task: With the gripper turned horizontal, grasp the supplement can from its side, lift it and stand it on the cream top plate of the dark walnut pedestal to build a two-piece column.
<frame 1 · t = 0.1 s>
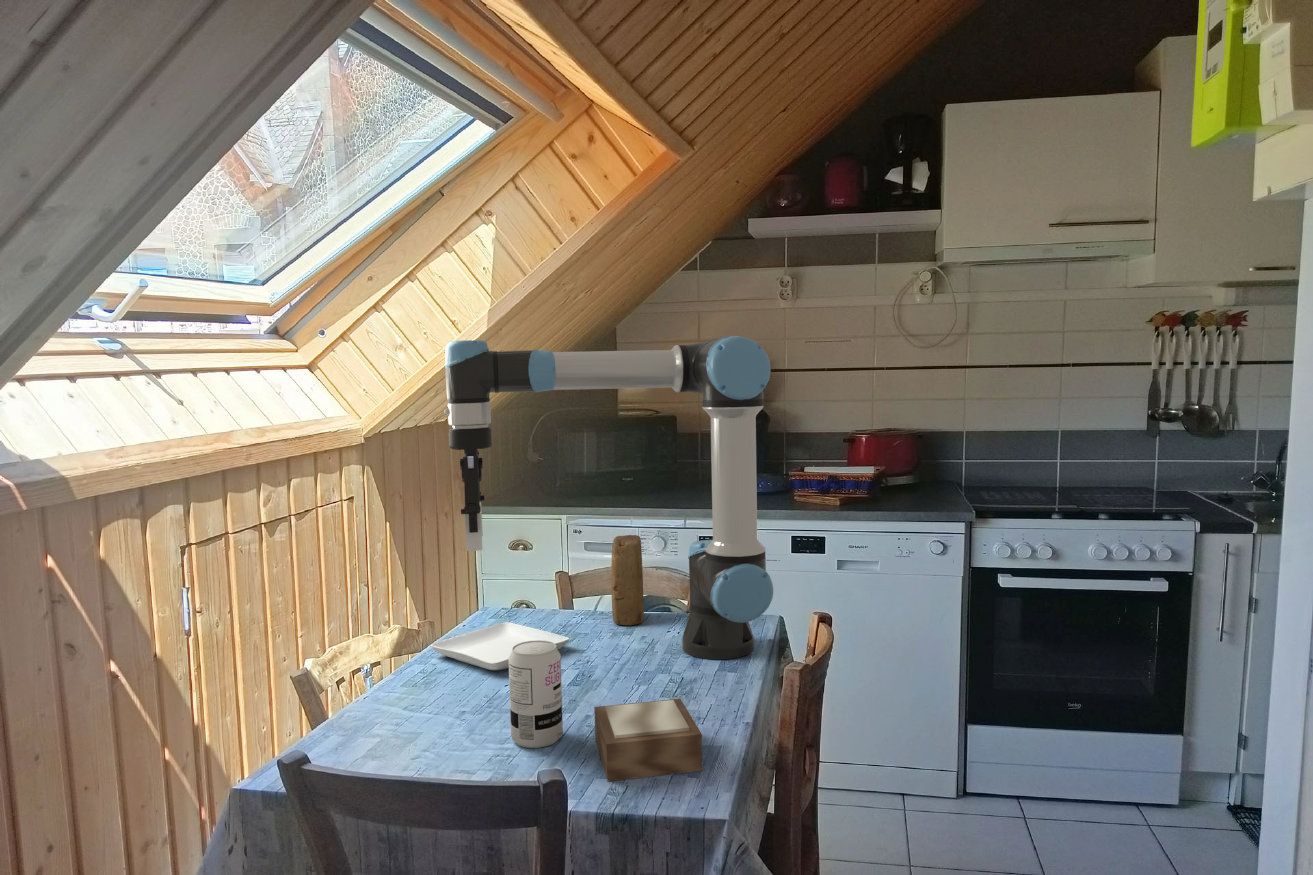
hand: (475, 543, 155), 28 cm above the table, tool pointing down, fingers open, 13 cm apart
walnut pedestal: (646, 754, 130), on the table
supplement can: (537, 739, 137), on the table
block: (628, 621, 201), on the table
salad plate: (501, 656, 179), on the table
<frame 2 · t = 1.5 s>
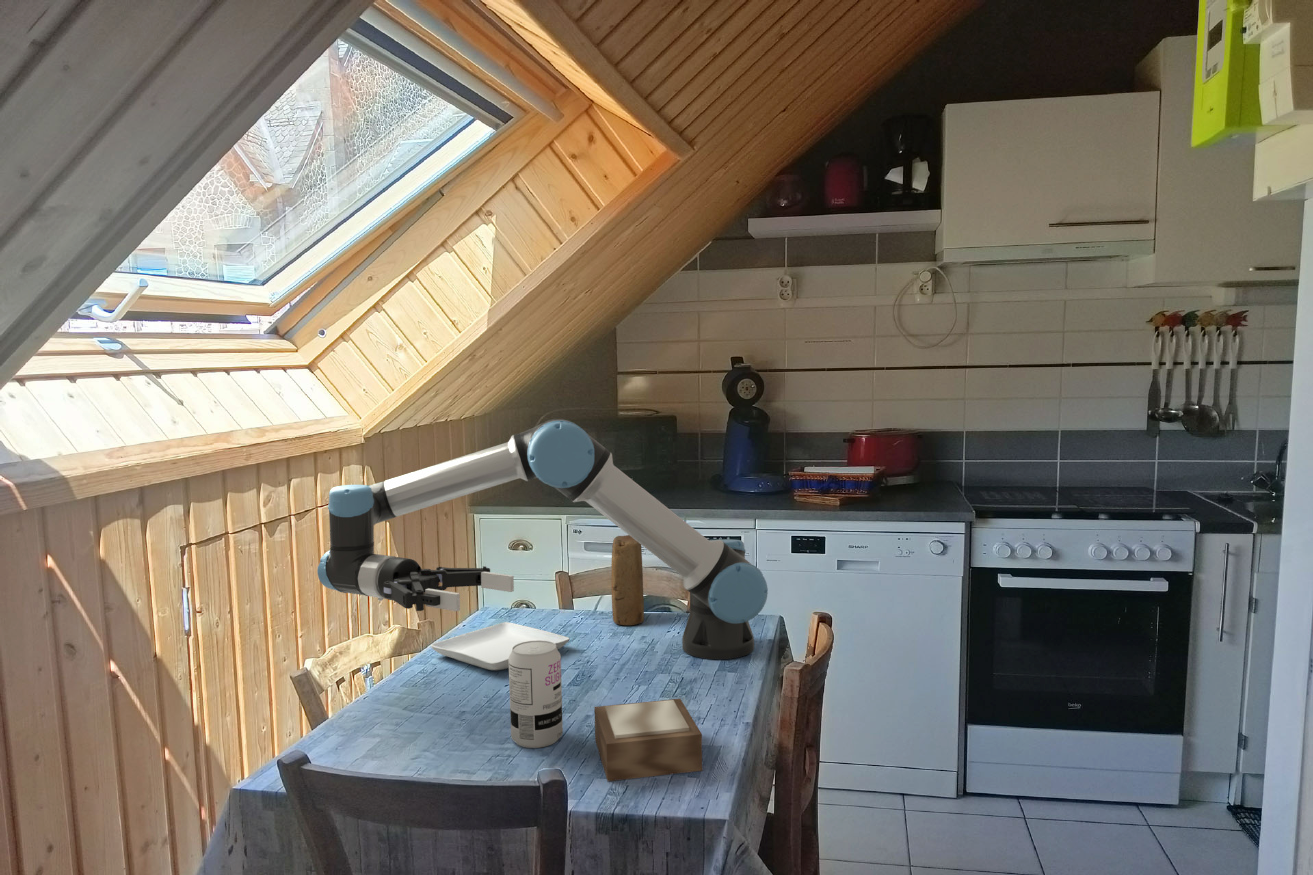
hand: (486, 592, 140), 23 cm above the table, tool horizontal, fingers open, 13 cm apart
nothing on the table moved.
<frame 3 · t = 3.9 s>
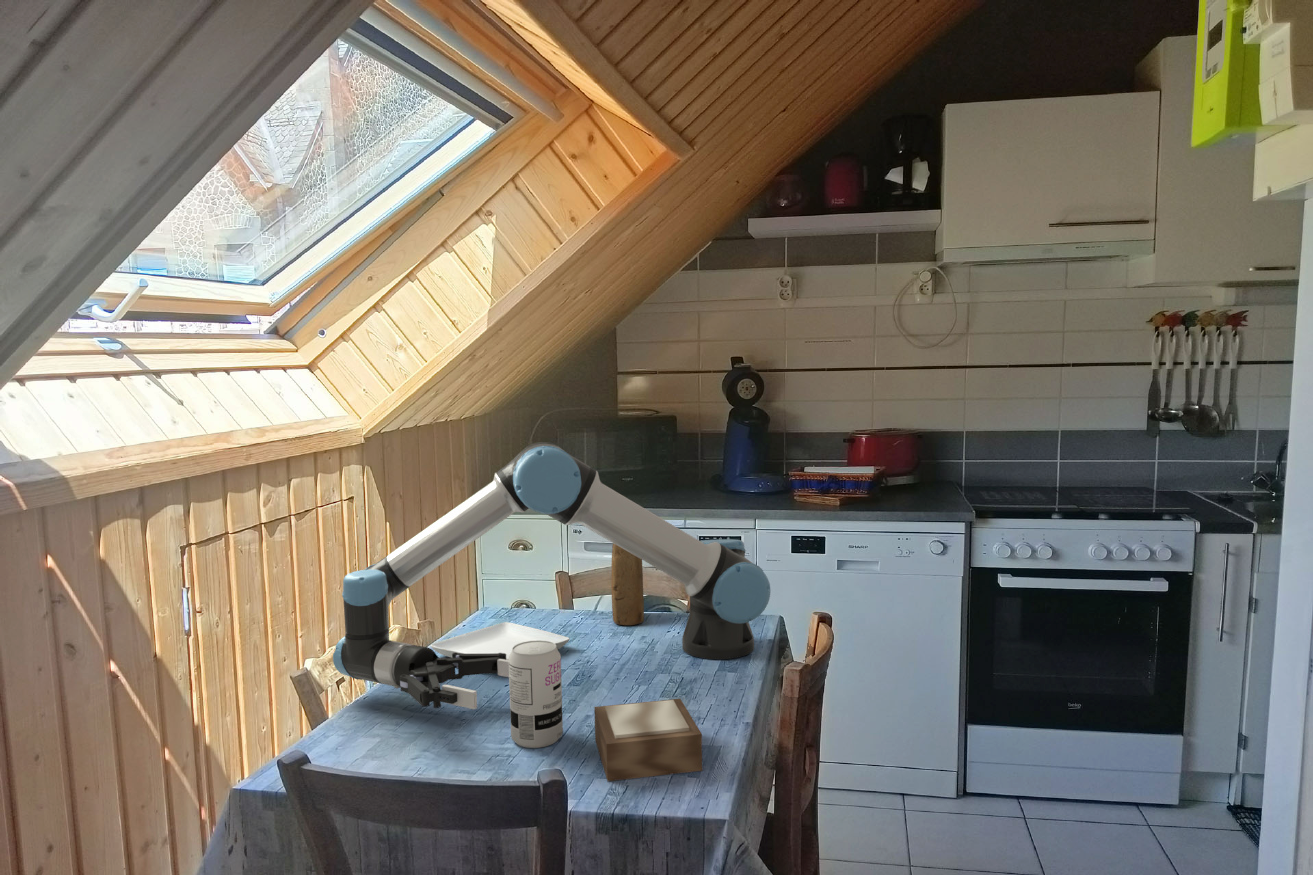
hand: (503, 685, 139), 8 cm above the table, tool horizontal, fingers open, 13 cm apart
nothing on the table moved.
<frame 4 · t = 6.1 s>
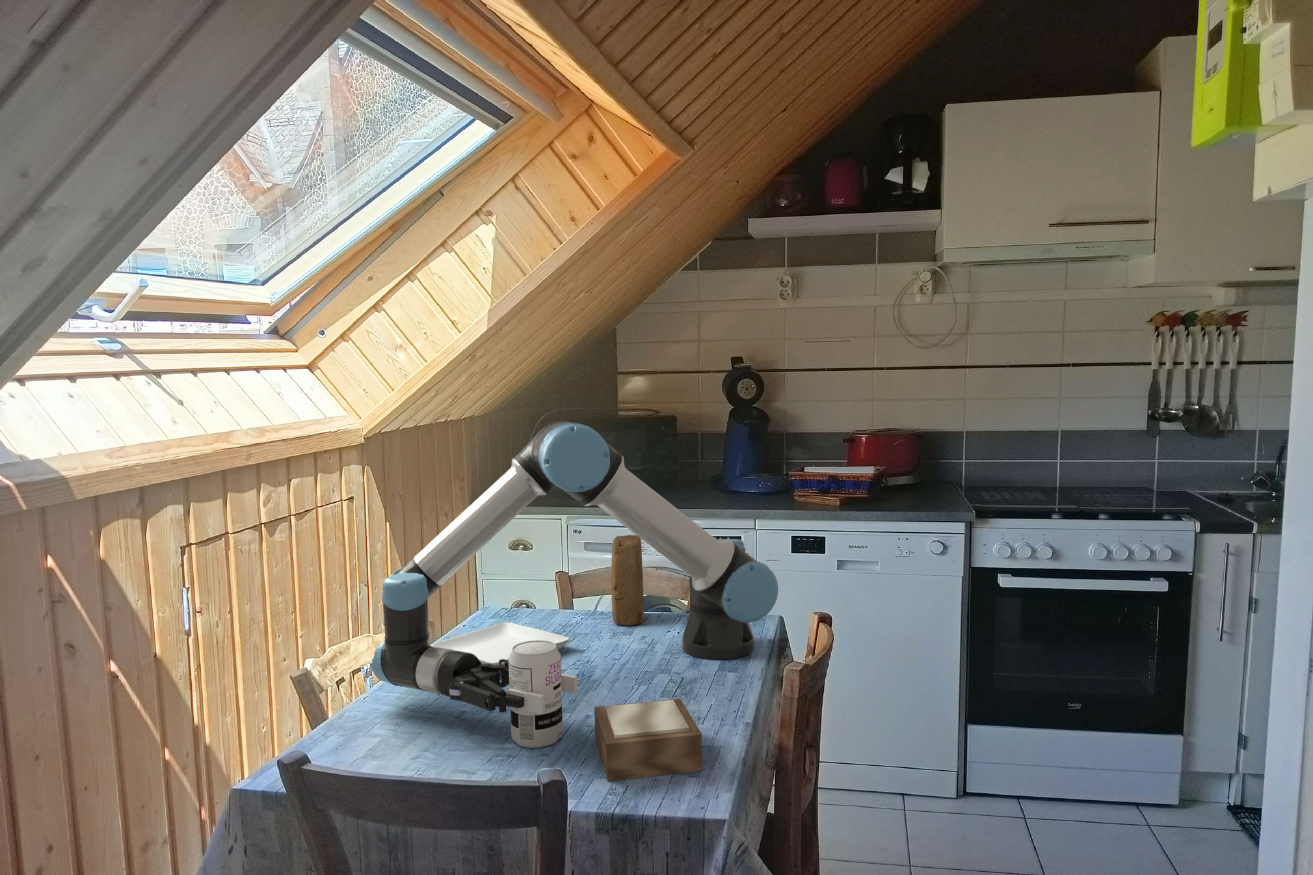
hand: (560, 694, 134), 8 cm above the table, tool horizontal, fingers closed on supplement can, 8 cm apart
supplement can: (537, 739, 137), on the table, touching gripper
everything else where it was.
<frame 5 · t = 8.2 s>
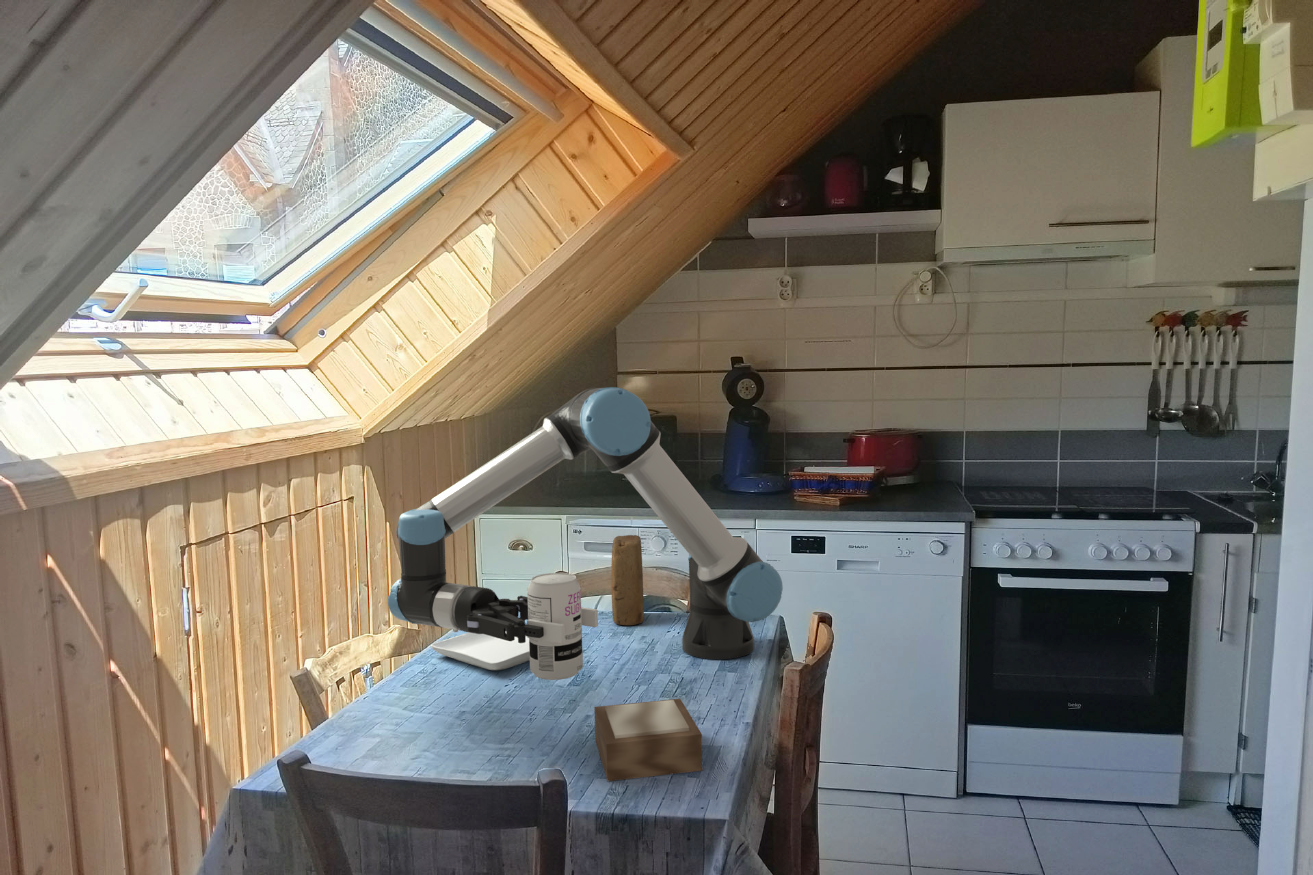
hand: (580, 625, 131), 20 cm above the table, tool horizontal, fingers closed on supplement can, 8 cm apart
supplement can: (556, 673, 134), point 11 cm above the table, touching gripper
everything else where it was.
when the fingers open (15 cm above the table, at t = 10.5 s): supplement can drops 1 cm, resting on walnut pedestal.
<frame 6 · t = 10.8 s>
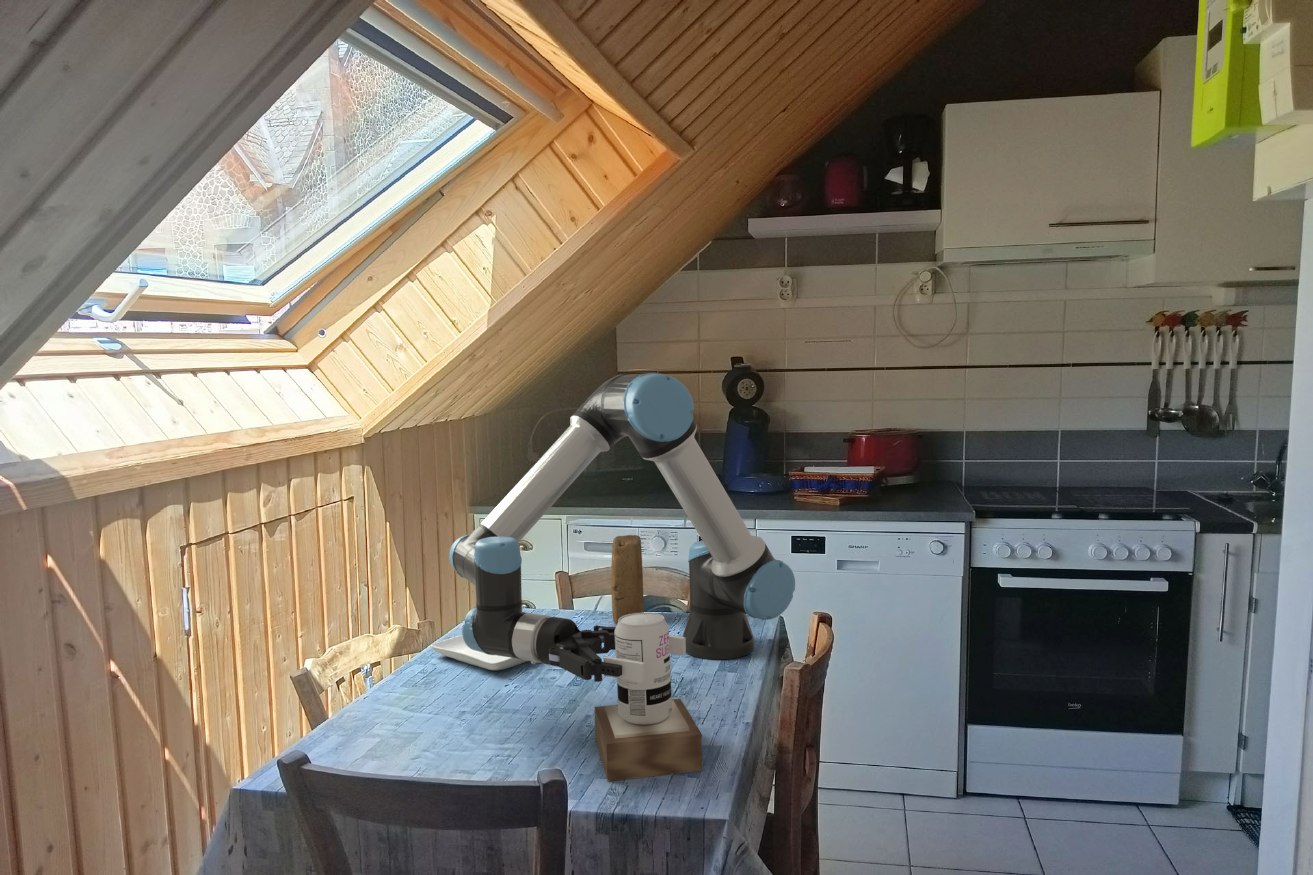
hand: (665, 658, 127), 15 cm above the table, tool horizontal, fingers open, 12 cm apart
supplement can: (645, 716, 130), point 6 cm above the table, touching walnut pedestal
everything else where it was.
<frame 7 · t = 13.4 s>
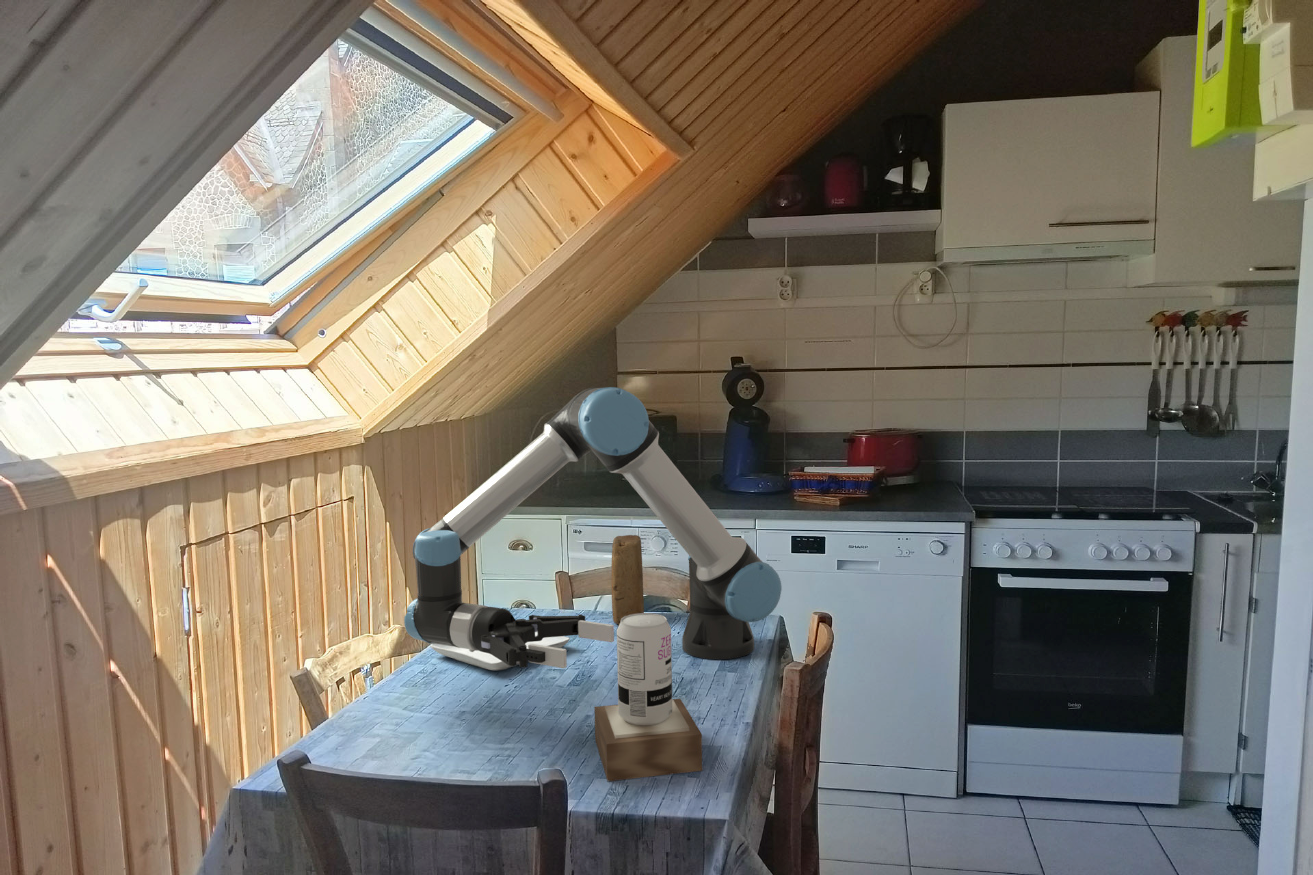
hand: (590, 645, 134), 16 cm above the table, tool horizontal, fingers open, 13 cm apart
nothing on the table moved.
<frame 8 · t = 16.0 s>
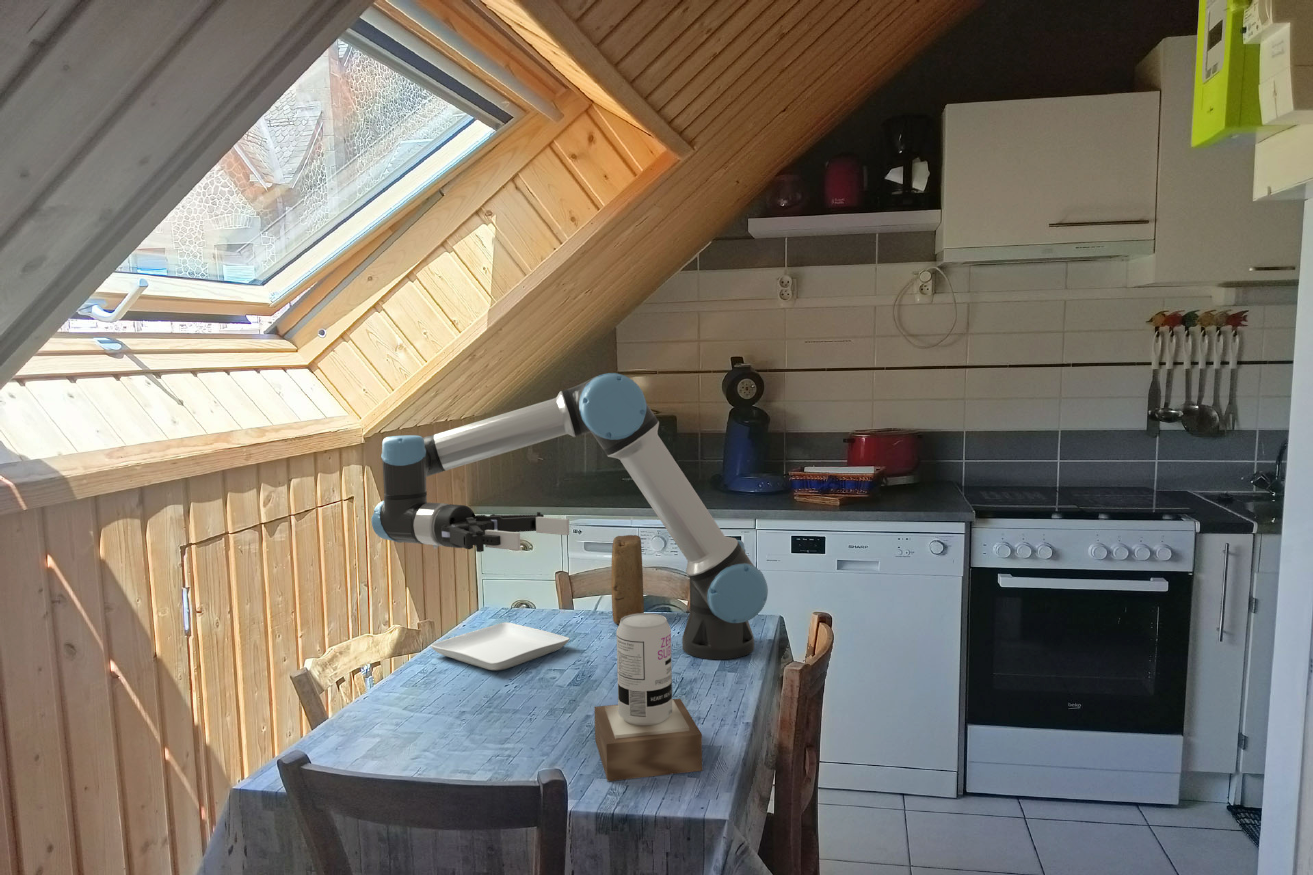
hand: (544, 534, 141), 32 cm above the table, tool horizontal, fingers open, 13 cm apart
nothing on the table moved.
at the end: supplement can inside the target area on the walnut pedestal (0.1 cm from its centre), point 5.8 cm above the walnut pedestal's base; supplement can tilted 0°; the gripper is holding nothing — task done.
